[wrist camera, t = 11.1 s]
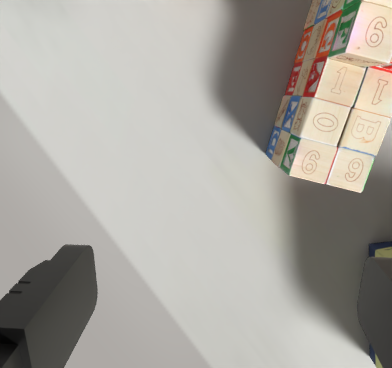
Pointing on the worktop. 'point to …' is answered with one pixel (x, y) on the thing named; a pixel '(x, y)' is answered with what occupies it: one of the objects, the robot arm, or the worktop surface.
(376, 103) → the stack of blocks
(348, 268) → the worktop surface
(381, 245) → the protein box
